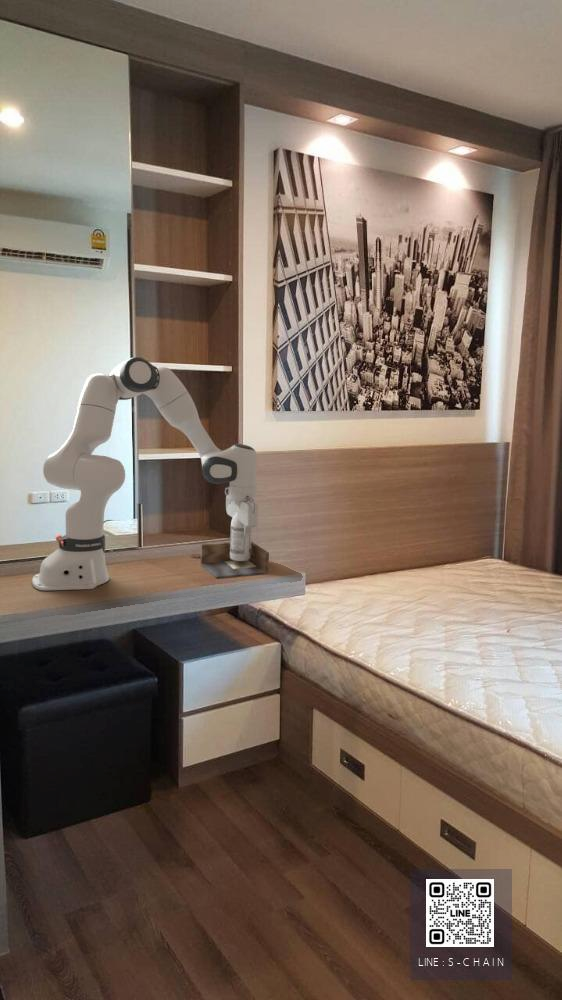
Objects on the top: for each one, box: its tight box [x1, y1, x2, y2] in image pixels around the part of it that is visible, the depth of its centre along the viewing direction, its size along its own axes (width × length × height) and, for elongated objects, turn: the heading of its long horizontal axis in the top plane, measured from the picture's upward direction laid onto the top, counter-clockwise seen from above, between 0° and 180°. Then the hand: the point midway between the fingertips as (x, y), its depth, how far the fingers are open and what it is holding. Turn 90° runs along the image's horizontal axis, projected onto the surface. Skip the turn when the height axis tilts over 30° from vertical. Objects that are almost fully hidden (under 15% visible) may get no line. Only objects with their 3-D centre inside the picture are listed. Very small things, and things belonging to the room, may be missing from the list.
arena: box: [199, 540, 270, 579], centre depth 238 cm, size 18×16×7 cm
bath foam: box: [229, 505, 253, 561], centre depth 240 cm, size 7×7×20 cm
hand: (241, 533), depth 240 cm, fingers closed on bath foam, 7 cm apart
